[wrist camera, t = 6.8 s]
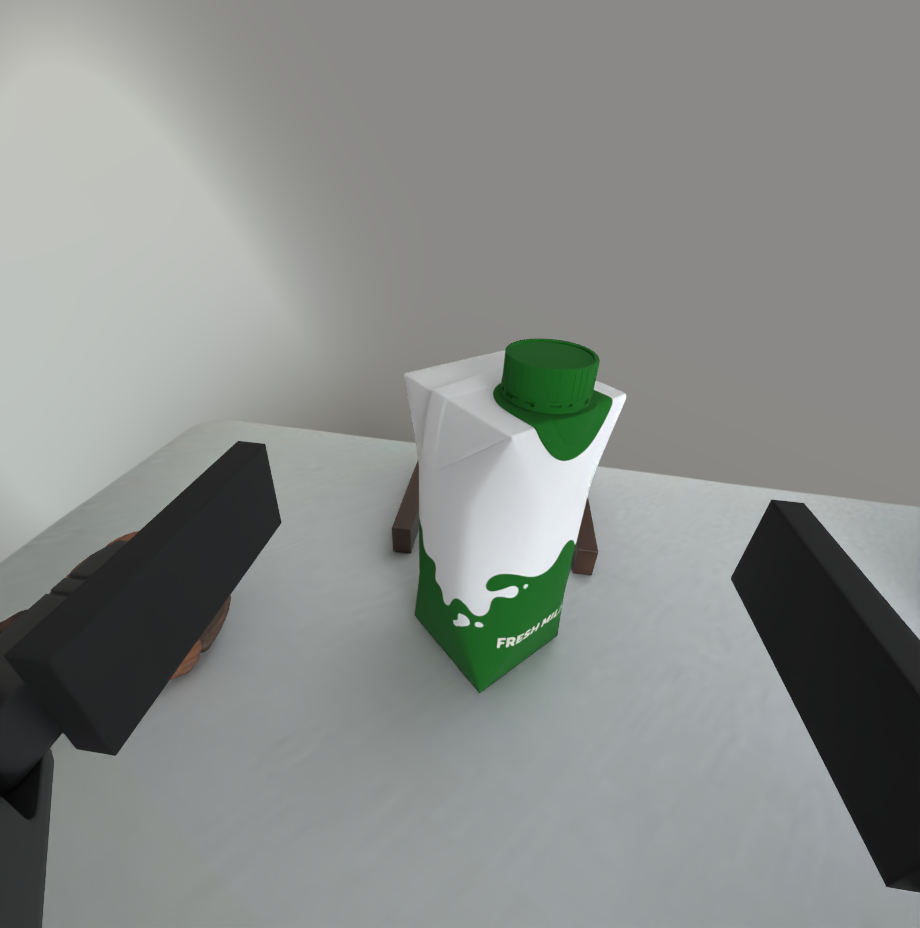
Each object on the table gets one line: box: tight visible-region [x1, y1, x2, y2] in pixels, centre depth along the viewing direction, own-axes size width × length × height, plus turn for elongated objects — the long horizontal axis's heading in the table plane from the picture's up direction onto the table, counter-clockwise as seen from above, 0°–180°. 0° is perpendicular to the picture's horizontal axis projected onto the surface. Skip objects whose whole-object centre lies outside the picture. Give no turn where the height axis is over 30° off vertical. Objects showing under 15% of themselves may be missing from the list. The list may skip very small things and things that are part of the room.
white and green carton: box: [404, 339, 626, 693], centre depth 26 cm, size 9×9×20 cm
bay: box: [392, 462, 598, 575], centre depth 41 cm, size 16×13×2 cm
